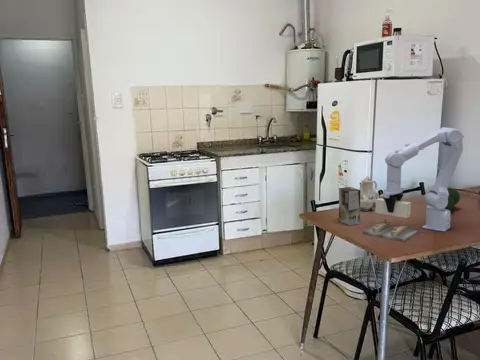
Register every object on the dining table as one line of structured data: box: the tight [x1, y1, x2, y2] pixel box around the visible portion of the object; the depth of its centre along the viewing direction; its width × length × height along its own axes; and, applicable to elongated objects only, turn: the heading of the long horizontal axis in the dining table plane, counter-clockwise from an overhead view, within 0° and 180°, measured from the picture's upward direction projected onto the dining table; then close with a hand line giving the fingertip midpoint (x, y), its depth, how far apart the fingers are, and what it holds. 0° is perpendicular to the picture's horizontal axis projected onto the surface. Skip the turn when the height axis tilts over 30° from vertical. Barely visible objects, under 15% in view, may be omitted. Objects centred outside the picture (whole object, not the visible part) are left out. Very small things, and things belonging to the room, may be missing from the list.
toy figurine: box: [445, 187, 461, 215], centre depth 215 cm, size 9×19×25 cm
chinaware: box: [358, 175, 384, 212], centre depth 230 cm, size 28×17×17 cm, turn 129°
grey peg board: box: [362, 219, 418, 243], centre depth 185 cm, size 18×14×4 cm
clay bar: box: [375, 197, 412, 219], centre depth 189 cm, size 14×4×6 cm, turn 47°
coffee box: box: [338, 186, 361, 226], centre depth 203 cm, size 9×6×16 cm
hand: (392, 211), depth 189 cm, fingers closed on clay bar, 4 cm apart
